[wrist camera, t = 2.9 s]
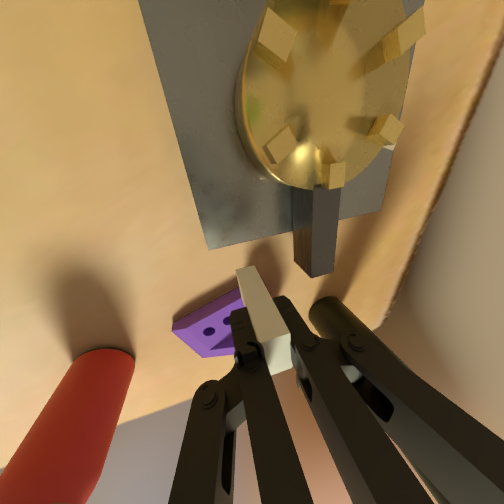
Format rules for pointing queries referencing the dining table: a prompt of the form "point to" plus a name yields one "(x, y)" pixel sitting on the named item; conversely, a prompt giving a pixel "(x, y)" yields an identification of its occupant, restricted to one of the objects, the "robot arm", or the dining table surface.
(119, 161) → the dining table surface
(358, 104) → the gold tabbed disc
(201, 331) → the bracket
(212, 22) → the plate
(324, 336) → the wine bottle
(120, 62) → the dining table surface
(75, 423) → the beer can
